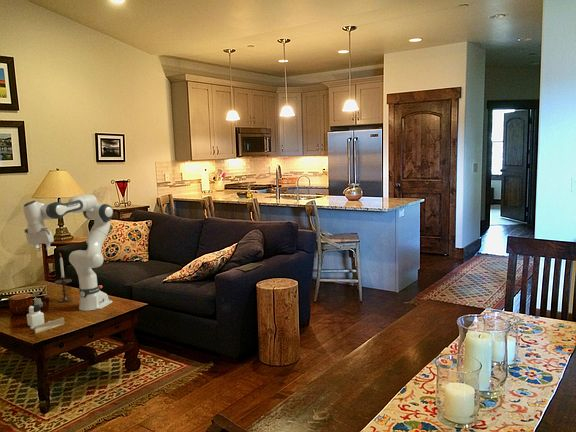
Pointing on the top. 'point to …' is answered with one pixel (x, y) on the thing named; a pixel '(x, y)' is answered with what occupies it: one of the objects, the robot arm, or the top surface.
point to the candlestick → (63, 283)
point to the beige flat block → (48, 325)
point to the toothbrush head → (38, 302)
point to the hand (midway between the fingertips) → (43, 250)
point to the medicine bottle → (35, 316)
